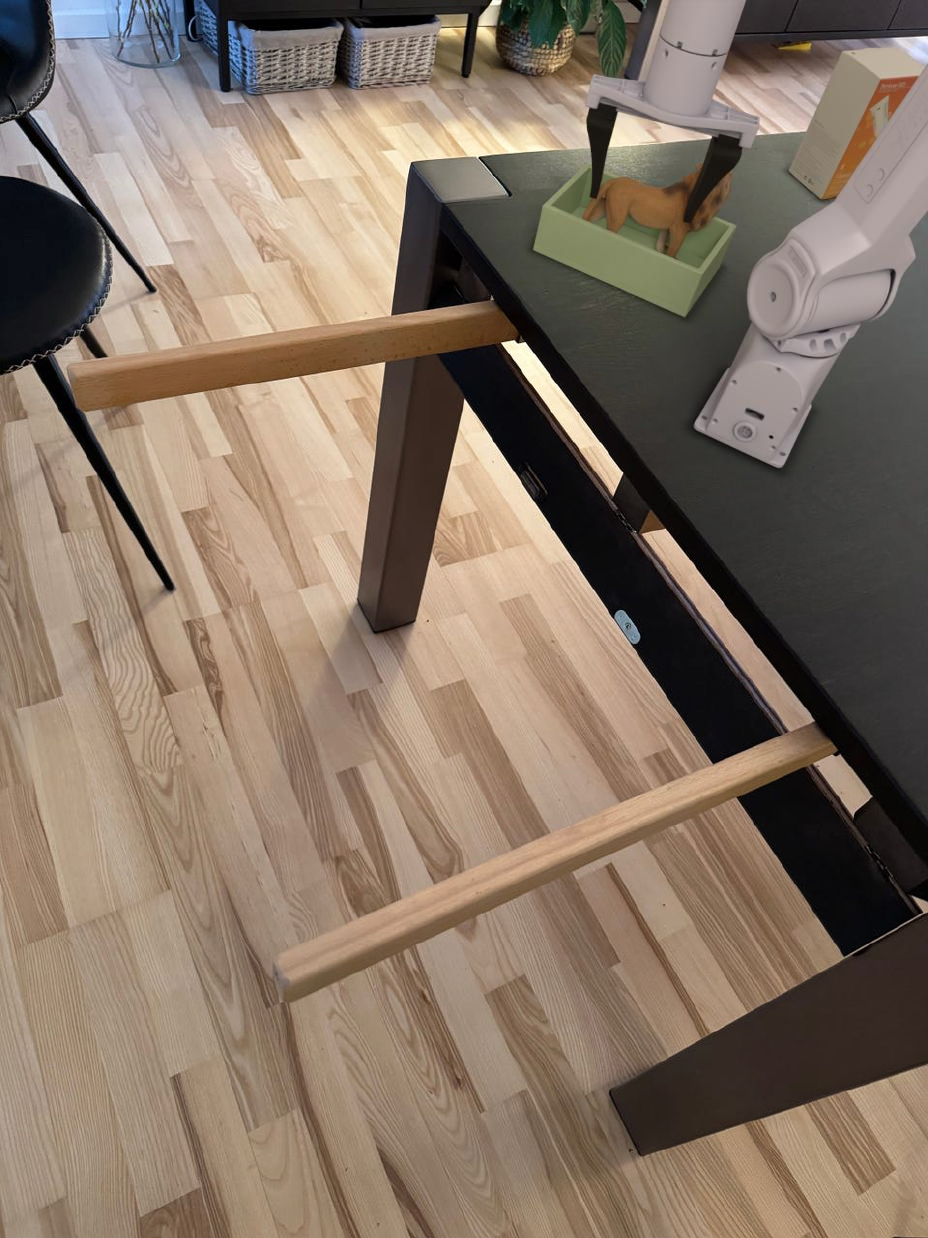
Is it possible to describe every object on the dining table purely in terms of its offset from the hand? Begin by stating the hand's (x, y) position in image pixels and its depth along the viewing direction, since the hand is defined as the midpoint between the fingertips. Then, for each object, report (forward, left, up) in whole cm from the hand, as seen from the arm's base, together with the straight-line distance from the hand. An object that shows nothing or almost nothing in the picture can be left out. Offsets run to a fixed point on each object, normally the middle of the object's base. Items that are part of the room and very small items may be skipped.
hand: (642, 205), depth 82 cm
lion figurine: (+2, -1, -6) cm, 6 cm away
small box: (+33, -13, -7) cm, 36 cm away
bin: (+2, 0, -6) cm, 6 cm away
